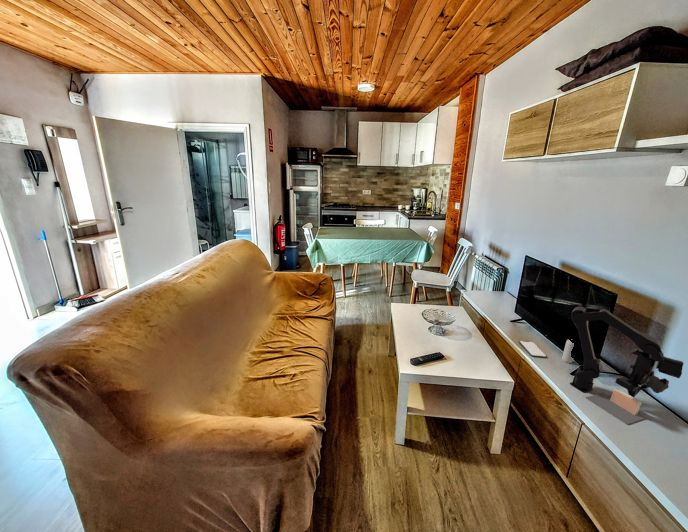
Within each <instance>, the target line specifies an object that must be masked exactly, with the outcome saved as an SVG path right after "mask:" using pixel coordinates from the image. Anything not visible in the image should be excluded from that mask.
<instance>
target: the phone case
mask: <svg viewBox="0 0 688 532" xmlns="http://www.w3.org/2000/svg"><path fill="white" fill-rule="evenodd" d="M518 344H519V346H521V347H522V349H524V351H525V352H526V353H527V354H528V355H529V357H532V358H540V359H547V357H548V356H547V354H546V353H545V352H543V350H541V348H539V346H537V343H535V342H534V341H528V340H519V341H518Z"/></svg>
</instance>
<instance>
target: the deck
mask: <svg viewBox="0 0 688 532" xmlns="http://www.w3.org/2000/svg"><path fill="white" fill-rule="evenodd" d="M610 397H611V399H610V400H611V401H612V402H614V403H616V404H617V405H619V406H620V407H622V408H624V409H625V410H627V411H629V412H630V413H632V414H634V415H636V414H638V413H639V411H640V409H641V406H642V403H643V402H642V401H641V400H639V399H638V398H636V397H632V396H630V395H629V394H628V392H627V393H626V392H625V391H623V390H621V389H620V388H619V387H616V388H614V389H613V391H612V393H611V396H610Z"/></svg>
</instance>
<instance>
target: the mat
mask: <svg viewBox="0 0 688 532" xmlns="http://www.w3.org/2000/svg"><path fill="white" fill-rule="evenodd" d="M585 399H587V401H589V402H590V403H593V404H594V405H596V406H597V407H599V408H600V409H602V410H603V411H605V412H606V413H608V414H610V415H612V416H613V417H614V418H616V419H618V420H619V421H620V422H623V424H625V425H631V424H634V423H637V422H640V421H643V420H645V419H647V417H645V416H644V415H642V414H641V413H639V412H638V414H636V415H634V414H632V413H630V412H629V411H627V410H625V409H624V408H622V407H620V406H619V405H617V404H616V403H614V402H612V401H611V400H610V399H611V396H610V395H608V394H607V393H605V392H600V393H597V394H593V395H589V396H586V397H585Z"/></svg>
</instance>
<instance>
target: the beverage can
mask: <svg viewBox="0 0 688 532" xmlns="http://www.w3.org/2000/svg"><path fill="white" fill-rule="evenodd" d="M573 347H574V343H572V342H571V341H570V340H569V338H568V339H566V342H565V345H564V349H563V352H562V353H563V354H562V357H561V360H562V361H563V362H564V363H567V364H572V363H573V361H574V358H572V357H571V351H572V349H573Z"/></svg>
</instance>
